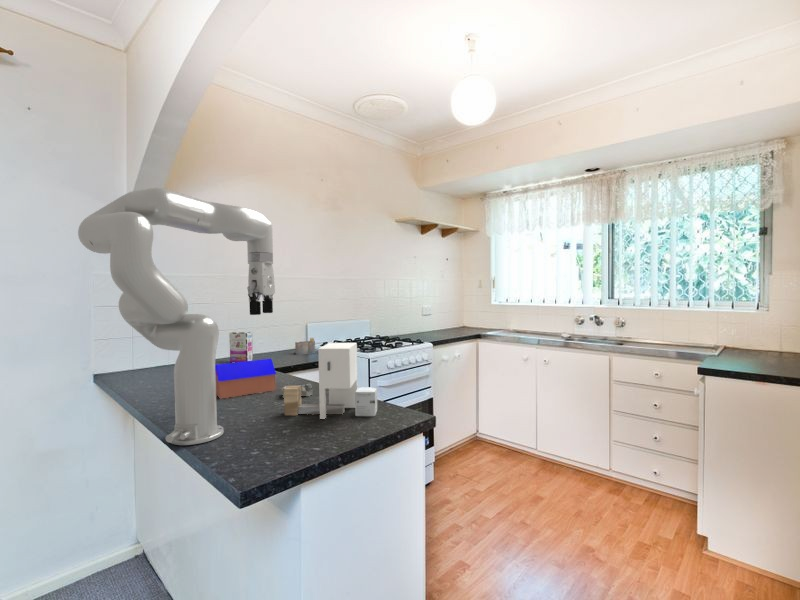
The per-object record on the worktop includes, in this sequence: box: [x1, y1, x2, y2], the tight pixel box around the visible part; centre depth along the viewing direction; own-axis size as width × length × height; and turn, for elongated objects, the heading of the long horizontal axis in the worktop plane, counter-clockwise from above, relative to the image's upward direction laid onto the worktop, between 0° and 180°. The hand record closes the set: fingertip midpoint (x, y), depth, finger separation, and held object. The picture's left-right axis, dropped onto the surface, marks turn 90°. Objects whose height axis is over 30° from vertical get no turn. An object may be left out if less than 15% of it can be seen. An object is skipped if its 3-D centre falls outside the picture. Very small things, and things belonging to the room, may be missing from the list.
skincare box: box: [354, 386, 378, 417], centre depth 121 cm, size 6×6×7 cm
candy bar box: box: [229, 331, 254, 363], centre depth 215 cm, size 11×5×16 cm, turn 73°
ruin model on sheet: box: [294, 337, 316, 356], centre depth 243 cm, size 11×3×10 cm, turn 118°
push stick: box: [283, 385, 346, 416], centre depth 122 cm, size 4×18×8 cm, turn 87°
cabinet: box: [318, 342, 359, 420], centre depth 121 cm, size 14×9×20 cm, turn 177°
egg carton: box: [281, 383, 314, 399], centre depth 143 cm, size 11×8×4 cm
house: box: [215, 358, 277, 400], centre depth 150 cm, size 12×20×12 cm, turn 124°
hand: (261, 313), depth 126 cm, fingers open, 9 cm apart
